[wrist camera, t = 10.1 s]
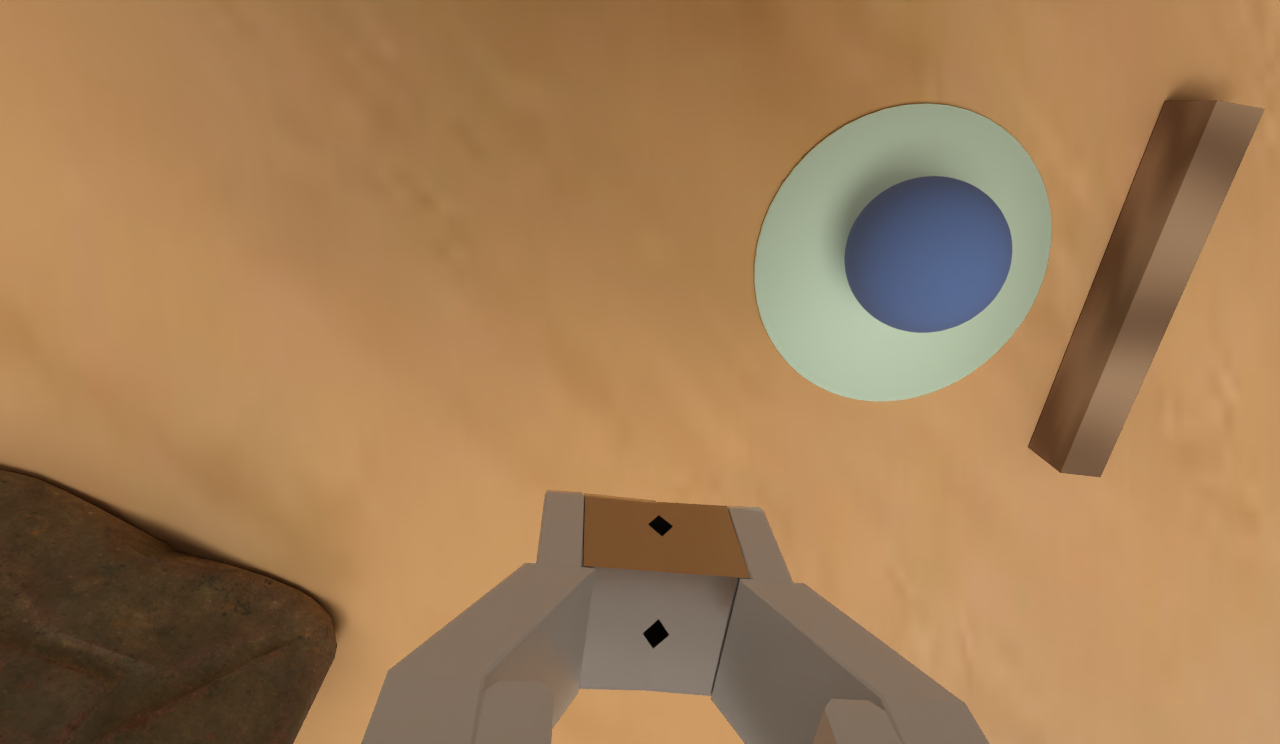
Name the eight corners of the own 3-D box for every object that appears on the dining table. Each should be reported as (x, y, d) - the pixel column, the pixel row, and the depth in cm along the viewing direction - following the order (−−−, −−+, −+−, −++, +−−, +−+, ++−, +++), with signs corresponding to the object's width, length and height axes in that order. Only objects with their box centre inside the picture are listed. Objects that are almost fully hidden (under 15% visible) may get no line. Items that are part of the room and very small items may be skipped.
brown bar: (1165, 101, 28) (1217, 100, 25) (1209, 108, 28) (1264, 108, 25) (1028, 447, 33) (1060, 472, 31) (1065, 451, 33) (1100, 477, 31)
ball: (1050, 162, 24) (915, 181, 30) (934, 169, 22) (809, 189, 27) (1047, 326, 25) (918, 316, 31) (936, 351, 23) (816, 336, 28)
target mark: (791, 79, 26) (792, 78, 26) (1095, 130, 28) (1098, 130, 28) (727, 383, 31) (728, 384, 31) (991, 413, 32) (993, 415, 32)
